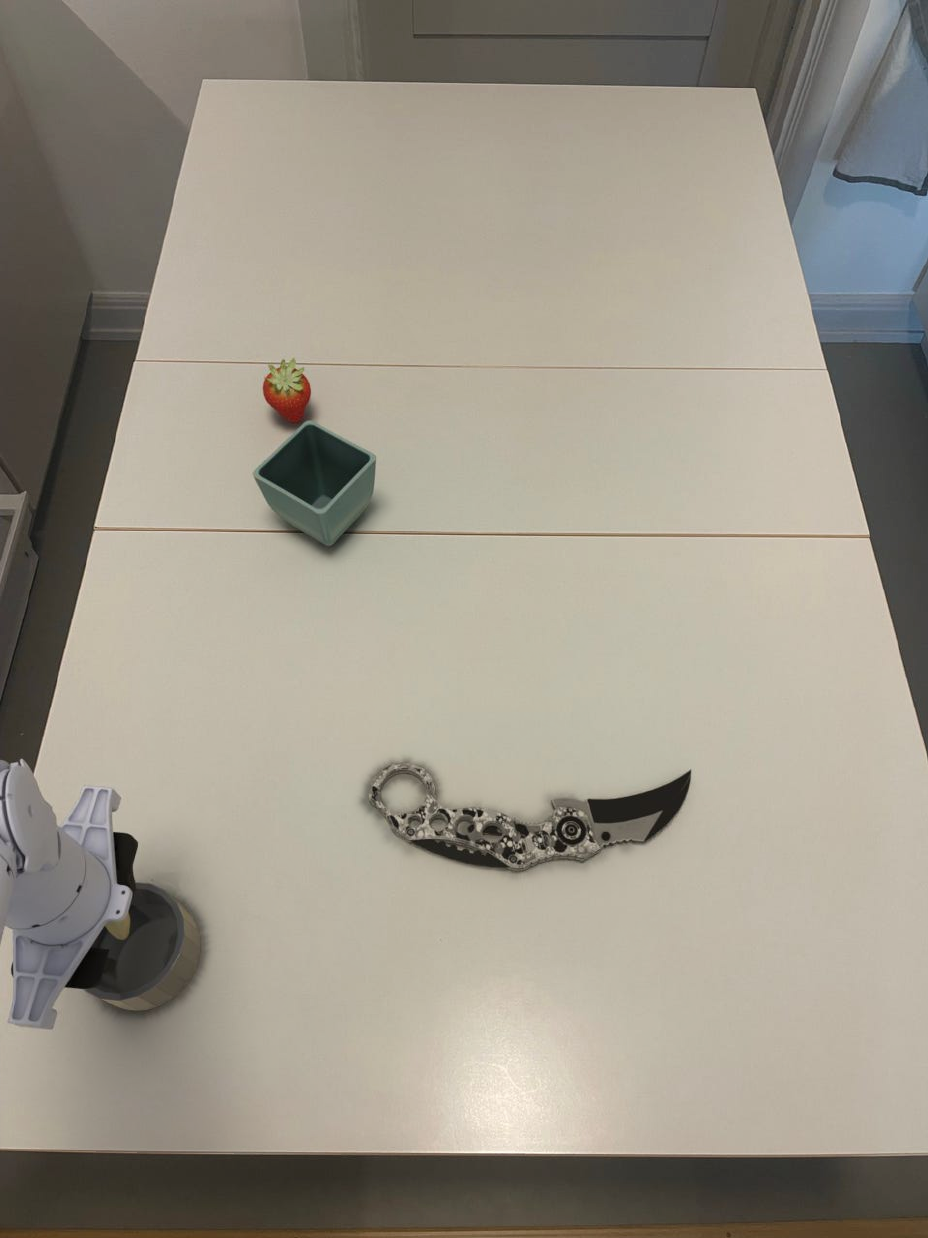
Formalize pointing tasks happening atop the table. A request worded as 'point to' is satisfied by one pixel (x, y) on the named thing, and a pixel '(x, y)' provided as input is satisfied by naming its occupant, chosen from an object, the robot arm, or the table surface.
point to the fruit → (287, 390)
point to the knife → (523, 845)
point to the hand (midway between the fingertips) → (111, 929)
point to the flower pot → (318, 481)
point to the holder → (150, 952)
